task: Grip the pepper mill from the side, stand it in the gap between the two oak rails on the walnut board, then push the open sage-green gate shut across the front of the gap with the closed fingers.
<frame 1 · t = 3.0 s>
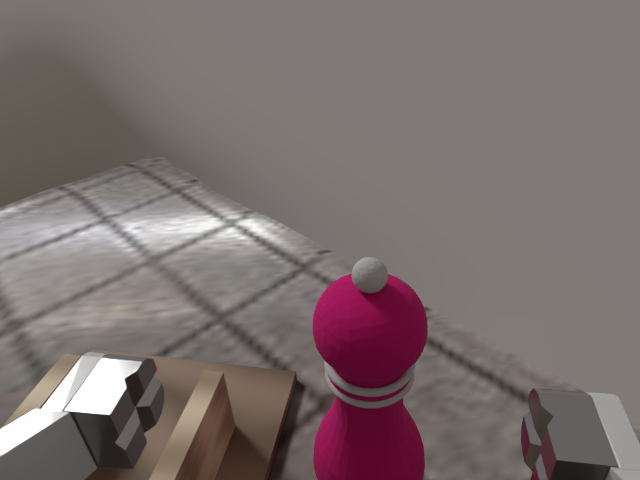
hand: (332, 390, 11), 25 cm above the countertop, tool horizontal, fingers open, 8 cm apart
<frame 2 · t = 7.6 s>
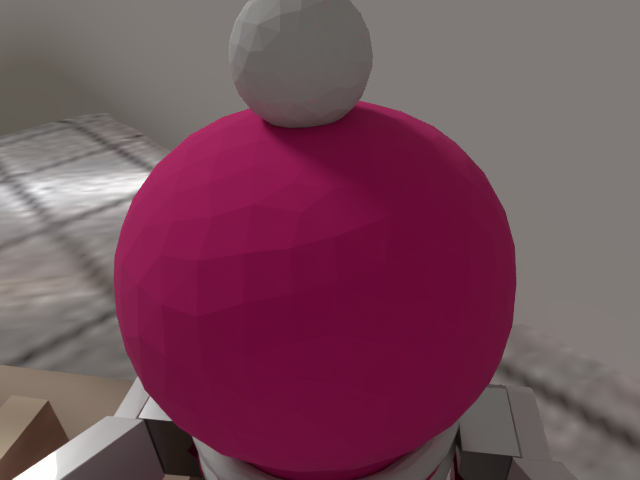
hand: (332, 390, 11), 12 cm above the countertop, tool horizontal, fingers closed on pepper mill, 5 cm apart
when the fingers open (14 cm above the countertop, at t = 13.3 s): pepper mill moves 2 cm, resting on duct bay.
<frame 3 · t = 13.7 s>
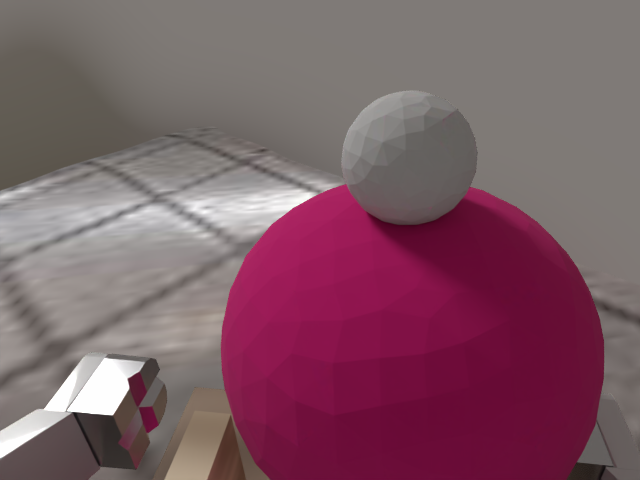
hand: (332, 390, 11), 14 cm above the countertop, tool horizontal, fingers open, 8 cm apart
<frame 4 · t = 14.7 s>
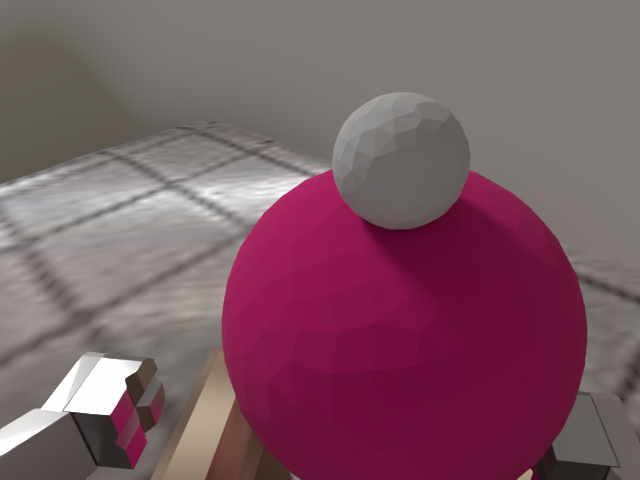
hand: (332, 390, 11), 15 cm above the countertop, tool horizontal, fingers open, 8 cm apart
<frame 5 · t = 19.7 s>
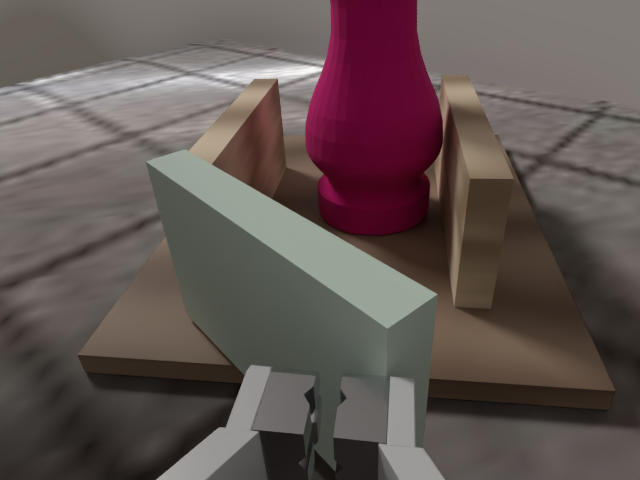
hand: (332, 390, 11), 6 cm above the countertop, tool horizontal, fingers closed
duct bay: (350, 235, 28), on the countertop
gate: (268, 307, 15), point 5 cm above the countertop, hinge at 42.3°, touching gripper
pepper mill: (373, 211, 28), point 1 cm above the countertop, touching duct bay
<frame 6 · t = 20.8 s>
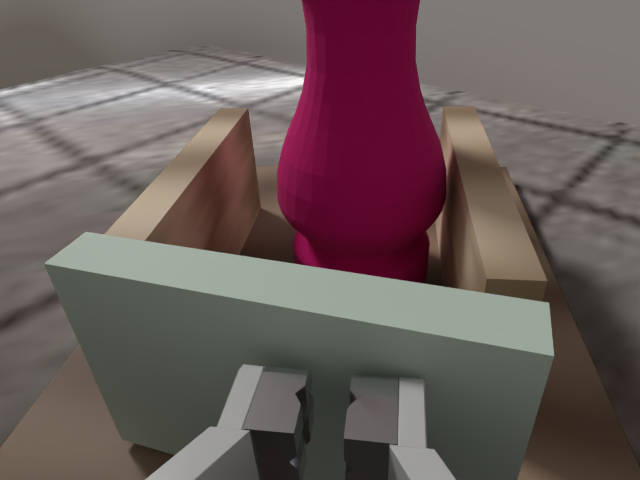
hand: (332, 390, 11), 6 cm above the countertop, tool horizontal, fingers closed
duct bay: (333, 301, 23), on the countertop
gate: (285, 386, 13), point 5 cm above the countertop, hinge at 10.6°, touching gripper
pepper mill: (360, 270, 24), point 1 cm above the countertop, touching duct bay
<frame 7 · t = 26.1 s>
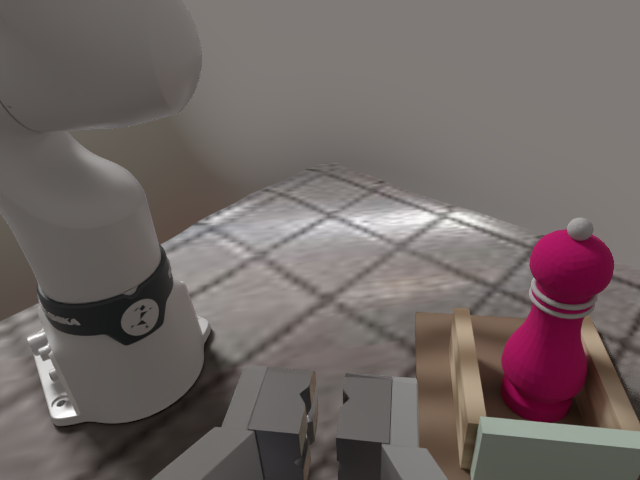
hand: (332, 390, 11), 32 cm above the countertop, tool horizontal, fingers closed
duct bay: (522, 414, 47), on the countertop
gate: (552, 461, 38), point 5 cm above the countertop, hinge at 0.5°
pepper mill: (533, 398, 48), point 1 cm above the countertop, touching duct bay
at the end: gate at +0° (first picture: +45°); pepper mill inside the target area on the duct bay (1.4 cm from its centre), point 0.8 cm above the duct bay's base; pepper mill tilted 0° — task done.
